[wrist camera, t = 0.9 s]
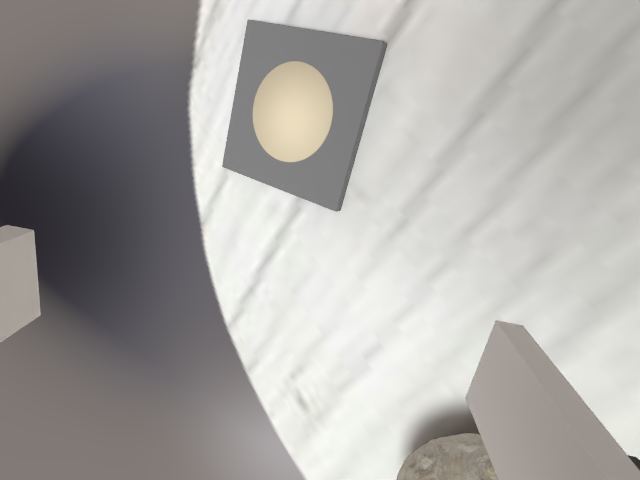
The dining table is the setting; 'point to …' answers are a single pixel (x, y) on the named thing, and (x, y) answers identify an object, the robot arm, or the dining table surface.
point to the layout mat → (301, 109)
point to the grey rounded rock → (449, 460)
